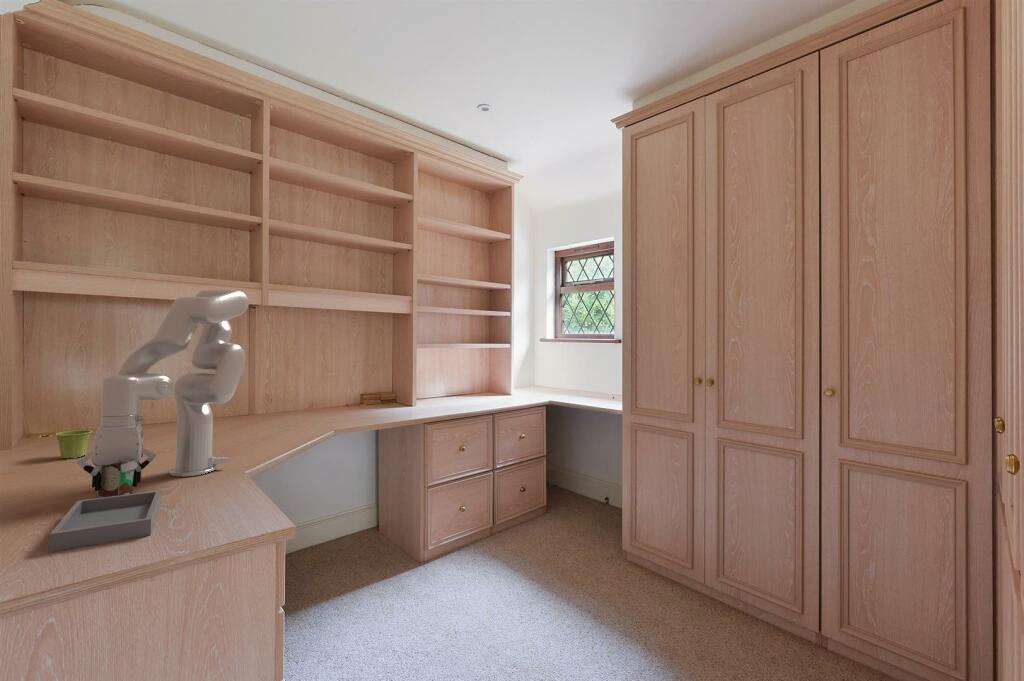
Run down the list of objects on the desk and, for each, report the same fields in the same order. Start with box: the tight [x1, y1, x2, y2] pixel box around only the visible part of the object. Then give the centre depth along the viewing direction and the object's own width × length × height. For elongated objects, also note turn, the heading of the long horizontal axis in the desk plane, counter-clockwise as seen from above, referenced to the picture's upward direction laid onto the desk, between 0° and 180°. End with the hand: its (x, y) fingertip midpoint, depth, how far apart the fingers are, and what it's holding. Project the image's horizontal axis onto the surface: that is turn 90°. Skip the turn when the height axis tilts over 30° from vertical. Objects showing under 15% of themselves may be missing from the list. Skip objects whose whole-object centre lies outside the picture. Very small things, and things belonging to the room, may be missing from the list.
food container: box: [94, 460, 138, 498], centre depth 124 cm, size 12×6×10 cm, turn 67°
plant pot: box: [55, 429, 93, 459], centre depth 161 cm, size 9×9×9 cm
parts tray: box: [49, 489, 162, 552], centre depth 105 cm, size 16×22×4 cm
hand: (116, 487), depth 123 cm, fingers closed on food container, 7 cm apart
